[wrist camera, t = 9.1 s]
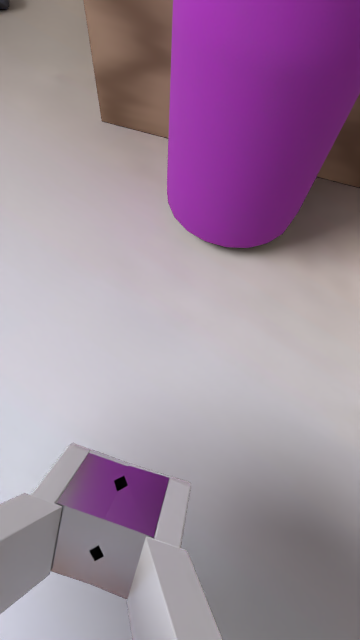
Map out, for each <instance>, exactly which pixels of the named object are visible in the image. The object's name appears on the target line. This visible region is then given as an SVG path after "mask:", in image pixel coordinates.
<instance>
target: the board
mask: <svg viewBox="0 0 360 640" xmlns="http://www.w3.org/2000/svg"><path fill="white" fill-rule="evenodd" d="M84 7H85V13H86V20H87V26H88V33H89V40H90V46H91V53H92V59H93V66H94V73H95V79H96V86H97V92H98V99H99V106H100V112H101V119H102V121H104V122H108V123H111V124H115V125H119V126H123V127H127V128H131V129H135V130H139V131H142V132H146V133H150V134H154V135H158V136H162V137H166V138H169V109H170V79H171V48H172V17H173V0H84ZM317 177H320V178H324V179H328V180H332V181H336V182H340V183H344V184H348V185H351V186H355V187H359V188H360V94H359V96H358V98H357V100H356V102H355V103H354V105H353V107H352V109H351V111H350V113H349V115H348V117H347V119H346V121H345V123H344V125H343V127H342V129H341V130H340V132H339V134H338V136H337V138H336V140H335V142H334V144H333V146H332V148H331V150H330V152H329V154H328V155H327V157H326V159H325V161H324V163H323V165H322V167H321V169H320V171H319V173H318V175H317Z"/></svg>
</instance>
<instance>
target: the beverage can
mask: <svg viewBox="0 0 360 640" xmlns="http://www.w3.org/2000/svg"><path fill="white" fill-rule="evenodd" d="M359 94H360V0H173V17H172V48H171V79H170V109H169V140H168V170H167V195H168V203H169V205H170V208H171V210H172V212H173V215H174V217H175V218H176V219H177V220H178V221H179V222H180V223H181V225H182V226H183V227H184V228H185V229H186V230H187V231H189V232H190V233H192V234H194V235H195V236H197V237H199V238H201V239H202V240H204V241H206V242H210V243H213V244H217V245H220V246H224V247H236V248H249V247H254V246H258V245H262V244H266V243H268V242H270V241H272V240H273V239H275V238H277V237H278V236H280V235H281V234H283V233H284V231H285V230H286V228H287V227H288V226H289V224H290V223H291V222H292V220H293V219H294V217H295V216H296V214H297V213H298V211H299V209H300V208H301V206H302V204H303V202H304V200H305V198H306V196H307V194H308V192H309V190H310V188H311V186H312V184H313V182H314V181H315V179H316V177H317V175H318V173H319V171H320V169H321V167H322V165H323V163H324V161H325V159H326V157H327V155H328V154H329V152H330V150H331V148H332V146H333V144H334V142H335V140H336V138H337V136H338V134H339V132H340V130H341V129H342V127H343V125H344V123H345V121H346V119H347V117H348V115H349V113H350V111H351V109H352V107H353V105H354V103H355V102H356V100H357V98H358V96H359Z"/></svg>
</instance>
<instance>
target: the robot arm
mask: <svg viewBox="0 0 360 640" xmlns="http://www.w3.org/2000/svg"><path fill="white" fill-rule="evenodd" d="M190 489H191V484H190V482H187V481H184V480H181V479H178V478H175V477H172V476H170V478H169V476H168V475H165V474H162V473H159V472H156V471H153V470H150V469H146V468H143V467H140V466H137V465H134V464H131V463H128V462H125V461H122V460H120V459H117V458H114V457H111V456H109V455H106V454H103V453H100V452H98V451H95V450H90V449H88V448H85V447H82V446H80V445H77V444H75V443H72V444H70V445H69V446H67V448H66V449H65V450H64V452H63V453H62V454H61V456H60V457H59V458H58V459H57V461H56V462H55V463H54V465H53V466H52V467H51V469H50V470H49V471H48V473H47V474H46V475H45V477H44V478H43V479H42V481H41V482H40V483H39V484H38V486H37V487H36V488H35V490H34V491H33V492H32V494H31V495H29V494H26V493H23V494H21V495H18V496H16V497H14V498H12V499H10V500H8V501H6V502H3V503H1V504H0V614H1V613H2V612H4V611H5V610H6V609H7V608H9V607H10V606H11V605H12V604H14V603H15V602H16V601H17V600H18V599H20V598H21V597H22V596H23V595H25V594H26V593H27V592H28V591H30V590H31V589H32V588H33V587H35V586H36V585H37V584H38V583H40V582H41V581H42V580H43V579H45V578H46V577H47V576H48V575H49V574H50V571H52V572H55V573H58V574H61V575H64V576H67V577H70V578H73V579H76V580H79V581H82V582H85V583H88V584H91V585H93V586H96V587H98V588H100V589H103V590H105V591H108V592H110V593H113V594H115V595H118V596H120V597H122V598H125V599H127V608H128V614H129V621H130V627H131V634H132V640H223V639H222V637H221V634H220V632H219V629H218V627H217V624H216V622H215V619H214V617H213V614H212V612H211V609H210V606H209V604H208V601H207V599H206V596H205V594H204V591H203V589H202V586H201V584H200V581H199V579H198V576H197V574H196V571H195V569H194V566H193V564H192V561H191V559H190V556H189V553H188V551H187V550H184V549H182V548H181V543H182V537H183V531H184V525H185V519H186V513H187V507H188V501H189V495H190Z"/></svg>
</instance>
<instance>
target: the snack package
mask: <svg viewBox="0 0 360 640" xmlns="http://www.w3.org/2000/svg"><path fill="white" fill-rule="evenodd" d="M8 7H9V0H0V9H1V8H3V9H4V8H5V9H8Z"/></svg>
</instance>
